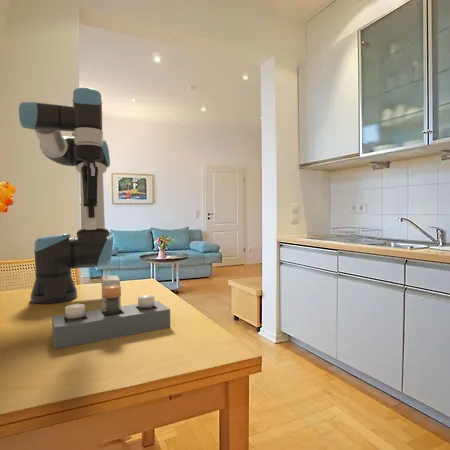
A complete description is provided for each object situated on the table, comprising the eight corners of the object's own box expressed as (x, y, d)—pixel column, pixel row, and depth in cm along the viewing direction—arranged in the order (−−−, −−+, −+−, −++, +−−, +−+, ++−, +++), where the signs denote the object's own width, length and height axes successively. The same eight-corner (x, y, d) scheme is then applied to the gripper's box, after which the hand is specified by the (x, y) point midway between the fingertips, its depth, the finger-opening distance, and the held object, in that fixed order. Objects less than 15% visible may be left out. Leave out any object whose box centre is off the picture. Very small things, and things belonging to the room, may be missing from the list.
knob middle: (102, 314, 92) (101, 286, 92) (119, 311, 94) (118, 284, 94) (105, 318, 88) (104, 289, 88) (123, 316, 90) (122, 287, 90)
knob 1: (65, 334, 88) (64, 305, 87) (84, 331, 90) (83, 302, 89) (67, 340, 84) (66, 309, 83) (86, 336, 86) (85, 307, 86)
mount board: (52, 335, 89) (51, 316, 88) (158, 317, 102) (158, 300, 102) (55, 348, 80) (54, 327, 80) (170, 327, 94) (170, 309, 94)
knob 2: (136, 322, 96) (136, 296, 96) (152, 319, 99) (151, 293, 98) (141, 326, 93) (140, 299, 92) (157, 324, 95) (156, 297, 95)
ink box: (121, 319, 101) (120, 279, 101) (103, 321, 100) (102, 280, 99) (118, 311, 109) (117, 274, 109) (101, 313, 107) (100, 275, 107)
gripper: (71, 148, 102) (74, 229, 103) (77, 140, 91) (79, 231, 92) (98, 150, 106) (100, 228, 107) (107, 143, 94) (109, 230, 95)
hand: (91, 229), depth 99 cm, fingers closed
